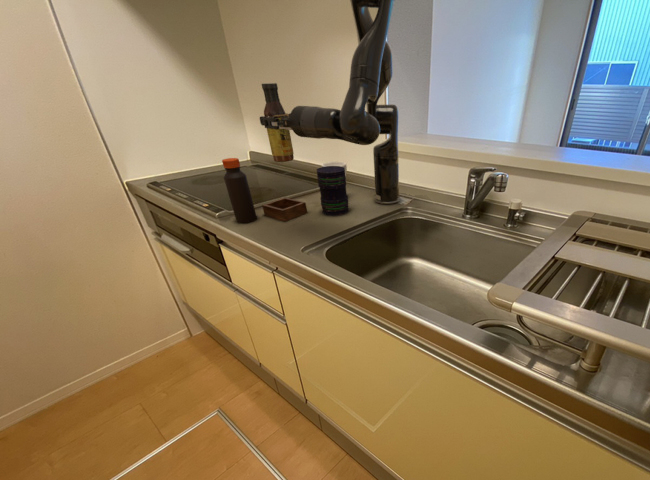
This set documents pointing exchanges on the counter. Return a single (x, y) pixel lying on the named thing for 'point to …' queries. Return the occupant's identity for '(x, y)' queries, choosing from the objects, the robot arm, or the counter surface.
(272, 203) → the box
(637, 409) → the counter surface
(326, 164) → the foam cup
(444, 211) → the counter surface
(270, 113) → the sauce bottle
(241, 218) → the vinegar
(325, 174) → the storage jar
